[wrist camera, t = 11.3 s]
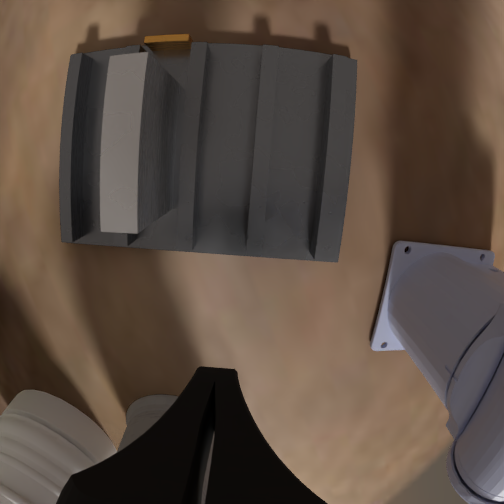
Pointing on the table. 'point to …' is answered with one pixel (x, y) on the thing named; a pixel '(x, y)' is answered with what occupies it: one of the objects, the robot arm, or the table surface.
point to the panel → (137, 143)
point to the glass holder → (148, 414)
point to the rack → (226, 150)
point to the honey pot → (45, 447)
